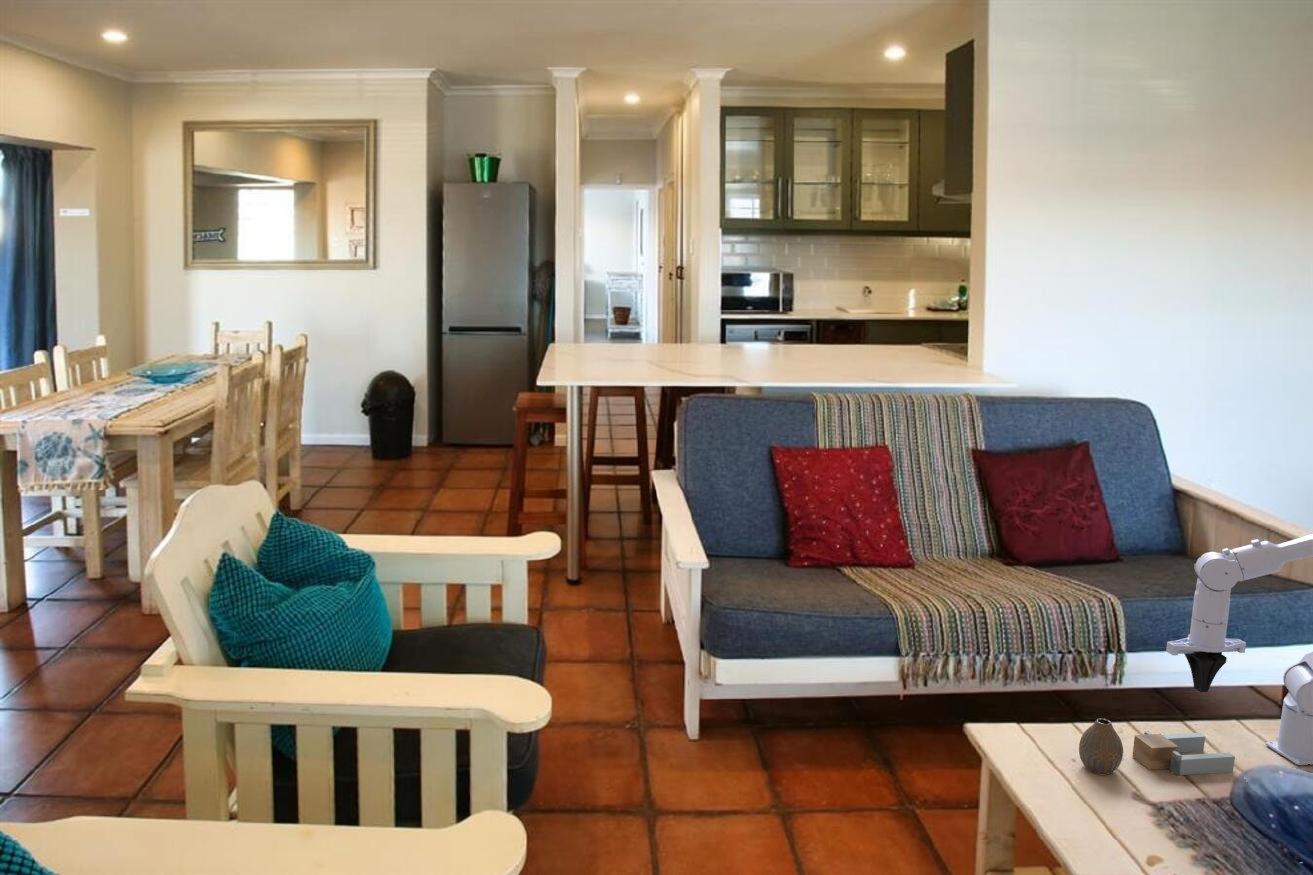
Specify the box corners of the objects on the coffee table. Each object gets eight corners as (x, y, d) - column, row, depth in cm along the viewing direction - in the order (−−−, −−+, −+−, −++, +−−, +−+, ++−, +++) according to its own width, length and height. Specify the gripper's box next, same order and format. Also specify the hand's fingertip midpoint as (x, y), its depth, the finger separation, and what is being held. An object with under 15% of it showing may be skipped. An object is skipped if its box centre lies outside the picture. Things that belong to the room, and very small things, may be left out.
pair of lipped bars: (1197, 747, 183) (1200, 728, 183) (1233, 771, 175) (1235, 752, 174) (1142, 750, 182) (1144, 731, 181) (1175, 775, 173) (1177, 755, 172)
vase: (1112, 761, 177) (1117, 714, 176) (1126, 780, 171) (1132, 731, 169) (1072, 758, 178) (1076, 711, 177) (1084, 777, 171) (1089, 729, 170)
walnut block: (1158, 755, 180) (1160, 733, 179) (1175, 768, 175) (1178, 746, 174) (1132, 756, 179) (1134, 735, 178) (1149, 769, 174) (1152, 748, 174)
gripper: (1229, 610, 188) (1221, 679, 191) (1159, 612, 186) (1150, 682, 188) (1257, 623, 181) (1248, 695, 184) (1184, 626, 179) (1175, 698, 181)
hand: (1200, 690), depth 185 cm, fingers closed
